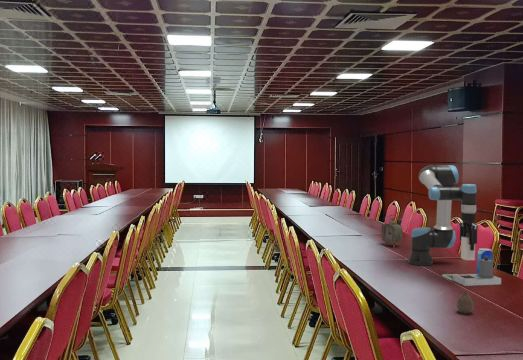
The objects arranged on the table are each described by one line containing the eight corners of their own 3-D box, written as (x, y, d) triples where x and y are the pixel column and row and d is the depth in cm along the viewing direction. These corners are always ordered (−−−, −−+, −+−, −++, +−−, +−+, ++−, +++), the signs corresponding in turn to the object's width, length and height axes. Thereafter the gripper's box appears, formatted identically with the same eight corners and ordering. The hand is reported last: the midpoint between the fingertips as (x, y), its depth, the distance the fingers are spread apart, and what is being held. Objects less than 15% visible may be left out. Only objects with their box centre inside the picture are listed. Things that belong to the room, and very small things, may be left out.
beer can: (483, 278, 279) (483, 250, 279) (473, 275, 288) (473, 248, 287) (495, 277, 282) (496, 250, 281) (485, 274, 290) (485, 247, 289)
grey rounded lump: (468, 310, 221) (469, 290, 220) (476, 314, 214) (476, 294, 214) (453, 310, 221) (454, 290, 220) (460, 314, 214) (460, 295, 213)
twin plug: (478, 281, 271) (479, 255, 270) (487, 280, 272) (487, 254, 271) (484, 283, 266) (484, 256, 265) (492, 282, 267) (493, 256, 266)
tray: (442, 277, 282) (442, 274, 282) (456, 277, 284) (456, 273, 283) (450, 281, 273) (450, 278, 273) (466, 280, 274) (466, 277, 274)
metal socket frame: (452, 281, 272) (452, 274, 272) (487, 280, 276) (487, 273, 275) (465, 287, 260) (465, 279, 260) (501, 285, 264) (501, 278, 264)
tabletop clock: (381, 245, 389) (382, 214, 388) (390, 244, 393) (391, 213, 392) (393, 248, 376) (394, 215, 375) (403, 247, 380) (403, 215, 379)
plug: (469, 258, 269) (469, 232, 269) (474, 260, 264) (475, 233, 264) (461, 258, 268) (461, 232, 268) (466, 260, 263) (466, 233, 263)
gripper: (453, 211, 274) (452, 252, 274) (472, 214, 256) (471, 258, 257) (465, 210, 275) (464, 252, 276) (485, 214, 257) (484, 258, 258)
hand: (467, 255), depth 266 cm, fingers closed on plug, 5 cm apart
